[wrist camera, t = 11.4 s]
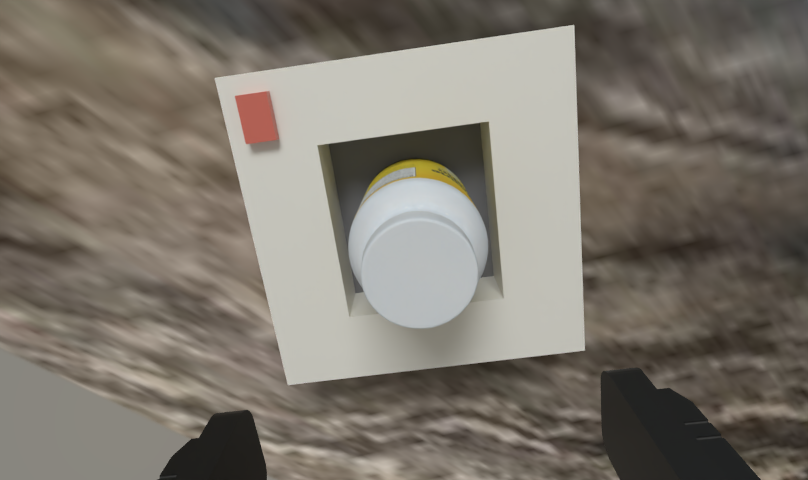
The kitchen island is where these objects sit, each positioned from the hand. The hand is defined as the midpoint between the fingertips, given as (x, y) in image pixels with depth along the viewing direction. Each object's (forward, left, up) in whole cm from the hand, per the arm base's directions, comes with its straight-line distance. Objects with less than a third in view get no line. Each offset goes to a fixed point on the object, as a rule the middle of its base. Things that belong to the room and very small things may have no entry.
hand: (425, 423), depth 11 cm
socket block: (0, 0, -21) cm, 21 cm away
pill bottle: (0, 0, -20) cm, 20 cm away
